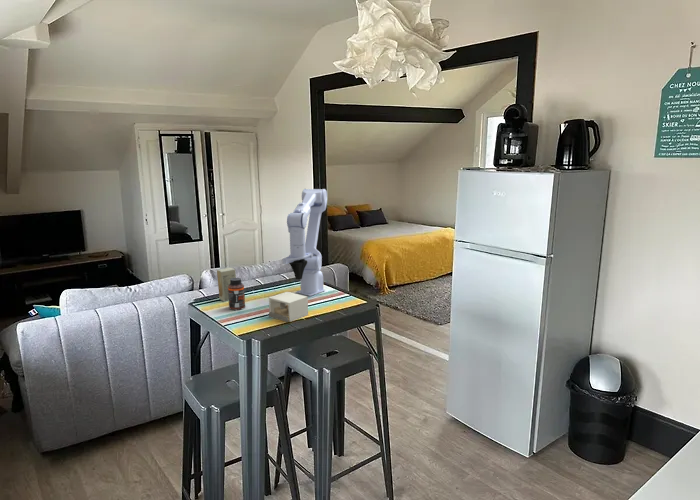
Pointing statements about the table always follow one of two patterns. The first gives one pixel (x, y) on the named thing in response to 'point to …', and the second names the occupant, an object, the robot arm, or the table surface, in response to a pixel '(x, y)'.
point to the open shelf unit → (289, 306)
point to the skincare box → (225, 282)
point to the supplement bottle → (236, 294)
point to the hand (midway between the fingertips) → (298, 279)
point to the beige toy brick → (282, 310)
